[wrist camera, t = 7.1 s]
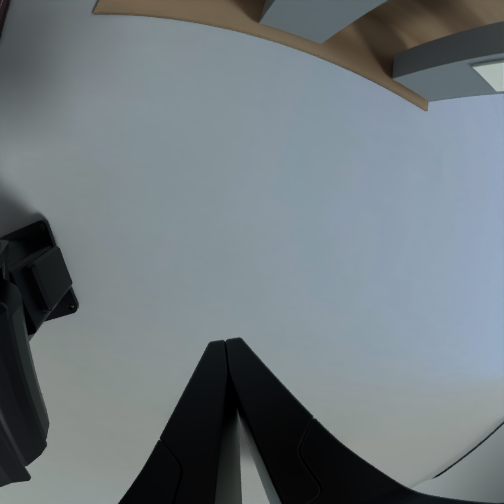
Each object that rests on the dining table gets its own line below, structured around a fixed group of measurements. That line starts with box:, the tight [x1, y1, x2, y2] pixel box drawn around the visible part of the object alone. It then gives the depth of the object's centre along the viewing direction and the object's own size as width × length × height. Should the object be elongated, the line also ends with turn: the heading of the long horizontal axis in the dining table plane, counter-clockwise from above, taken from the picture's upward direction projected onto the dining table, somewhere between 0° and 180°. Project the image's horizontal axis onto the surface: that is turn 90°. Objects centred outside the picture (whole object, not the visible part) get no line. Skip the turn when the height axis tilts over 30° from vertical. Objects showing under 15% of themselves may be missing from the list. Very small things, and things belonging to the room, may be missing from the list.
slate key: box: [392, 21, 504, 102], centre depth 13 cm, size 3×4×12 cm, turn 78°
